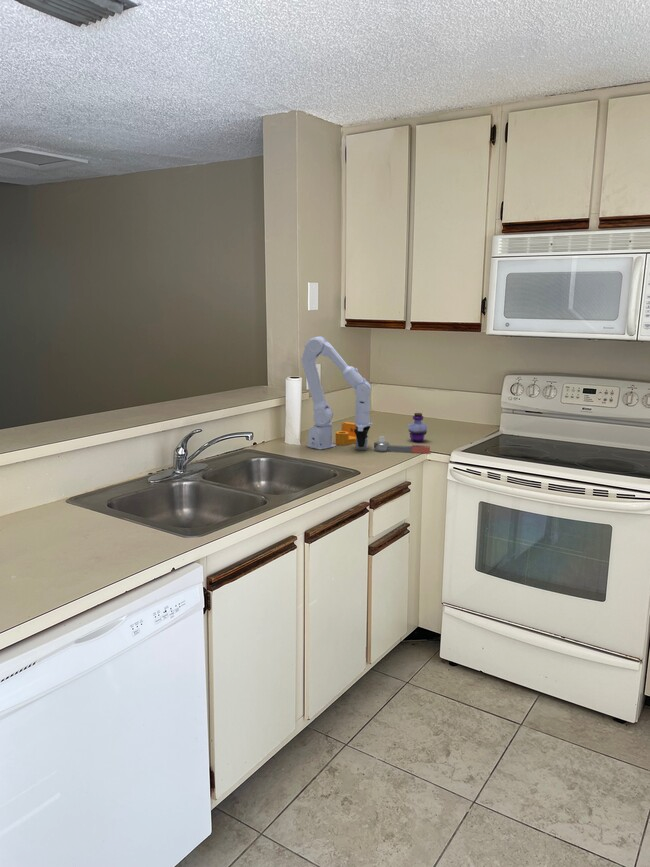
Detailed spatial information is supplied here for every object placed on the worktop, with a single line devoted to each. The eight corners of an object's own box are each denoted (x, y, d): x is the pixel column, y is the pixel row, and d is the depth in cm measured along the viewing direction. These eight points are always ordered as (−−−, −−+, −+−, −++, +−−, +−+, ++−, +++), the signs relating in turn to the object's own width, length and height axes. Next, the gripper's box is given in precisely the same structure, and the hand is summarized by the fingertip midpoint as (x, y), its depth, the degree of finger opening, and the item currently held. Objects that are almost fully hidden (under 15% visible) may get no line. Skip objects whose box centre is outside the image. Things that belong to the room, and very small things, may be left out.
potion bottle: (431, 441, 281) (432, 413, 279) (418, 444, 276) (419, 415, 273) (416, 437, 288) (417, 410, 285) (402, 440, 282) (403, 412, 279)
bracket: (366, 424, 277) (348, 429, 268) (365, 441, 279) (348, 446, 270) (345, 421, 284) (328, 425, 275) (345, 438, 285) (327, 442, 276)
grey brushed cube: (355, 449, 265) (355, 437, 264) (356, 447, 269) (357, 435, 268) (366, 450, 264) (366, 437, 263) (367, 447, 269) (367, 435, 268)
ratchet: (373, 451, 262) (373, 438, 261) (374, 448, 268) (374, 434, 267) (429, 454, 259) (430, 440, 258) (429, 450, 265) (430, 437, 264)
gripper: (371, 415, 256) (370, 449, 259) (374, 409, 270) (373, 441, 273) (352, 414, 257) (352, 449, 260) (356, 408, 271) (356, 440, 274)
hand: (361, 445), depth 267 cm, fingers closed on grey brushed cube, 4 cm apart
